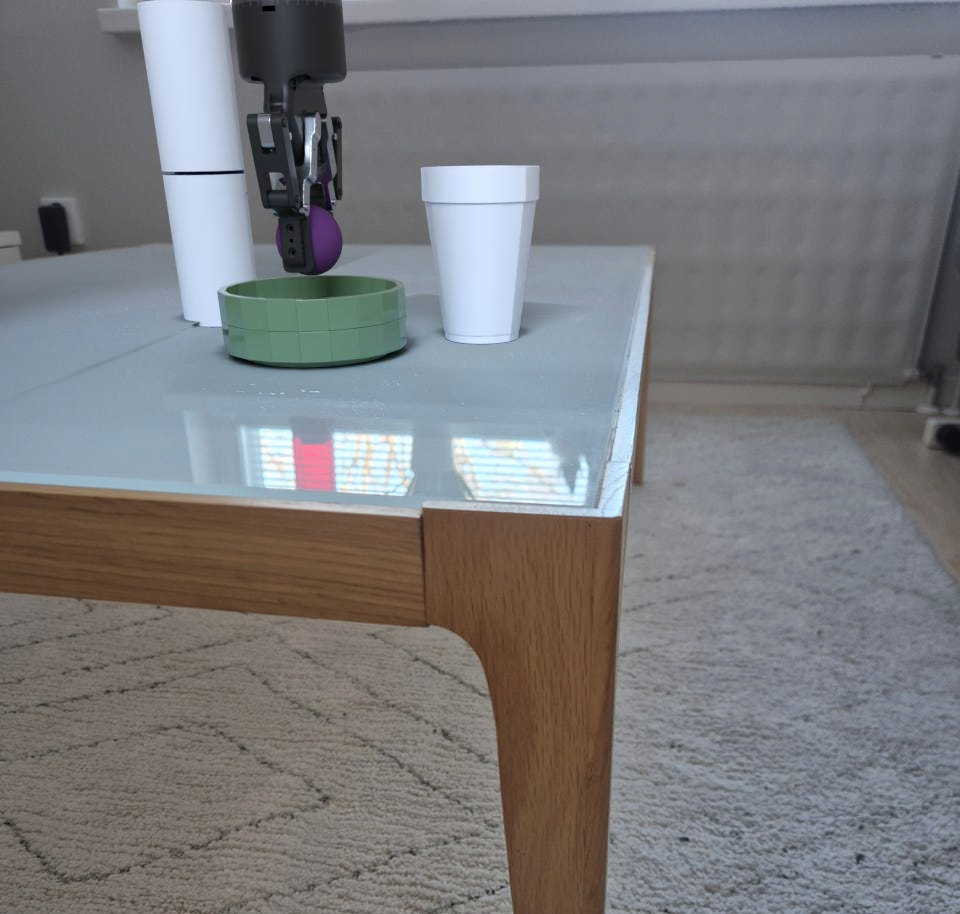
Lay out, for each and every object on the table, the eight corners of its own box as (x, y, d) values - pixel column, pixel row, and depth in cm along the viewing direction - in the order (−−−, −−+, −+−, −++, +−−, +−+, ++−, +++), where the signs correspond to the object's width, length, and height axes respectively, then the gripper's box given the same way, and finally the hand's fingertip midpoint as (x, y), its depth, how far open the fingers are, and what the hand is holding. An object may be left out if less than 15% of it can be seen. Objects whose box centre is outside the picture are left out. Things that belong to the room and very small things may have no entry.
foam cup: (465, 324, 86) (462, 165, 80) (555, 332, 82) (560, 165, 76) (405, 341, 79) (398, 168, 73) (501, 351, 75) (501, 168, 69)
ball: (269, 279, 71) (262, 206, 68) (292, 271, 75) (285, 202, 73) (333, 279, 70) (327, 205, 68) (352, 271, 74) (348, 202, 72)
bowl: (196, 369, 70) (186, 298, 68) (266, 334, 82) (259, 274, 80) (381, 373, 68) (376, 301, 66) (424, 337, 80) (421, 275, 78)
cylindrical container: (170, 325, 87) (118, 2, 75) (207, 313, 93) (165, 12, 82) (240, 327, 86) (199, -2, 74) (274, 315, 92) (240, 8, 80)
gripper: (272, 16, 71) (296, 257, 79) (189, -11, 59) (227, 279, 67) (368, 12, 70) (382, 257, 78) (304, -16, 57) (329, 280, 65)
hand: (311, 266), depth 72 cm, fingers closed on ball, 5 cm apart
